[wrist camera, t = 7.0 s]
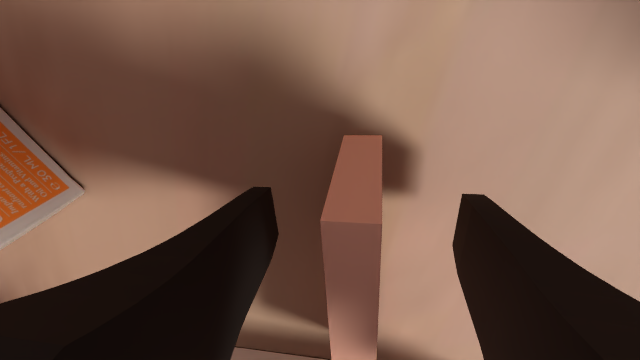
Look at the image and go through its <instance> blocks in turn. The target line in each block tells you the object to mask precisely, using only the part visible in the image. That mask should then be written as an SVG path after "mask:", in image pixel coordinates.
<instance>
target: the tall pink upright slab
mask: <svg viewBox="0 0 640 360" xmlns="http://www.w3.org/2000/svg"><path fill="white" fill-rule="evenodd" d="M320 226H321V238H322V250H323V262H324V275H325V287H326V299H327V311H328V323H329V335H330V347H331V360H376V358H377V334H378V310H379V286H380V262H381V238H382V135H344V137H343V141H342V144H341V148H340V151H339V155H338V158H337V162H336V166H335V169H334V173H333V176H332V180H331V183H330V187H329V191H328V194H327V198H326V201H325V205H324V209H323V212H322V216H321V219H320Z"/></svg>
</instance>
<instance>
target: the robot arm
mask: <svg viewBox="0 0 640 360" xmlns="http://www.w3.org/2000/svg"><path fill="white" fill-rule="evenodd" d="M278 235H279V233H278V227H277V222H276V216H275V210H274V204H273V198H272V192H271V187H253V188H251V189H249V190H247V191H246V192H244V193H243V194H241V195H240V196H238V197H236V198H235V199H233V200H232V201H230V202H229V203H227V204H226V205H224V206H223V207H221V208H220V209H218V210H217V211H215V212H214V213H212V214H211V215H209V216H208V217H206V218H204V219H203V220H201V221H199V222H198V223H196V224H195V225H193V226H191V227H190V228H188V229H186V230H185V231H183V232H181V233H180V234H178V235H176V236H174V237H172V238H170V239H169V240H167V241H165V242H163V243H161V244H159V245H157V246H155V247H153V248H151V249H149V250H147V251H145V252H143V253H141V254H138V255H136V256H134V257H131V258H129V259H127V260H124V261H122V262H120V263H117V264H115V265H113V266H110V267H108V268H106V269H103V270H101V271H98V272H96V273H93V274H90V275H88V276H85V277H82V278H80V279H77V280H74V281H71V282H68V283H65V284H62V285H60V286H57V287H53V288H50V289H47V290H44V291H41V292H38V293H34V294H31V295H28V296H24V297H21V298H18V299H14V300H11V301H8V302H4V303H1V304H0V360H231V357H232V354H233V351H234V348H235V345H236V342H237V339H238V336H239V333H240V330H241V327H242V325H243V322H244V320H245V317H246V315H247V313H248V311H249V308H250V306H251V304H252V302H253V299H254V297H255V295H256V293H257V291H258V288H259V286H260V284H261V282H262V280H263V277H264V275H265V273H266V270H267V268H268V266H269V264H270V261H271V259H272V256H273V252H274V249H275V246H276V242H277V238H278ZM453 251H454V258H455V263H456V269H457V274H458V277H459V281H460V284H461V287H462V290H463V293H464V296H465V300H466V303H467V306H468V309H469V312H470V315H471V318H472V321H473V324H474V328H475V331H476V334H477V337H478V340H479V343H480V347H481V350H482V354H483V358H484V360H640V302H639V301H637V300H636V299H634V298H632V297H630V296H629V295H627V294H625V293H623V292H622V291H620V290H618V289H616V288H615V287H613V286H611V285H610V284H608V283H607V282H605V281H603V280H602V279H600V278H598V277H597V276H595V275H593V274H592V273H590V272H588V271H587V270H585V269H584V268H582V267H581V266H579V265H577V264H576V263H574V262H573V261H572V260H570V259H569V258H567V257H566V256H564V255H563V254H561V253H560V252H558V251H557V250H556V249H554V248H553V247H551V246H550V245H549V244H547V243H546V242H544V241H543V240H542V239H540V238H539V237H538V236H536V235H535V234H534V233H532V232H531V231H530V230H528V229H527V228H526V227H525V226H523V225H522V224H521V223H519V222H518V221H517V220H516V219H514V218H513V217H512V216H511V215H509V214H508V213H507V212H506V211H504V210H503V209H502V208H501V207H499V206H498V205H497V204H496V203H494V202H493V201H492V200H490V199H489V198H488V197H486V196H485V195H480V194H462V198H461V203H460V208H459V213H458V219H457V224H456V229H455V234H454V240H453Z"/></svg>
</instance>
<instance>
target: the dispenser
mask: <svg viewBox="0 0 640 360" xmlns="http://www.w3.org/2000/svg"><path fill="white" fill-rule="evenodd" d="M231 360H326V359H319V358H311V357H304V356H296V355H289V354H282V353H274V352H267V351H259V350H252V349H245V348H237V347H235V348H234V351H233V354H232V357H231Z"/></svg>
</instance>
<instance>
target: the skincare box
mask: <svg viewBox="0 0 640 360" xmlns="http://www.w3.org/2000/svg"><path fill="white" fill-rule="evenodd" d="M84 193H85V190H84V189H83V188H82V187H81V186H80V185H79V184H78V183H76V182H75V181H74V180H72V179H71V178H70V177H69V176H68V175H67V174H66V173H65V172H64V171H63V170H62V169H61V167H60V166H59V165H58V164H57V163H55V162H54V161H53V160H52V159H51V158H50V157H49V156H48V155H47V154H46V153H45V152H44V151H43V150H42V149H41V148H40V147H39V146H38V145H37V144H36V143H35V142H34V141H33V140H32V139H31V138H30V137H29V136H28V135H27V134H26V133H25V132H24V131H23V130H22V129H21V128H20V127H19V126H18V125H17V124H16V123H15V122H14V121H13V120H12V119H11V118H10V117H9V116H8V115H7V114H6V113H5V112H4V111H3V110H2V109H1V108H0V250H1V249H3V248H4V247H6V246H7V245H9V244H11V243H12V242H14V241H15V240H17V239H18V238H20V237H21V236H23V235H25V234H26V233H28V232H29V231H31V230H32V229H34V228H35V227H37V226H38V225H40V224H41V223H43V222H44V221H46V220H47V219H49V218H50V217H52V216H53V215H55V214H56V213H58V212H59V211H61V210H62V209H63V208H65V207H66V206H67V205H69V204H70V203H71V202H73V201H74V200H76V199H77V198H79V197H80V196H81V195H83V194H84Z"/></svg>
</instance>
